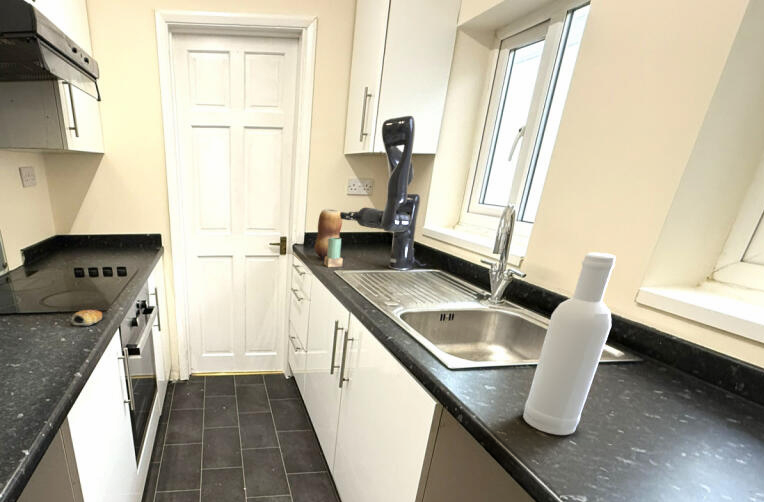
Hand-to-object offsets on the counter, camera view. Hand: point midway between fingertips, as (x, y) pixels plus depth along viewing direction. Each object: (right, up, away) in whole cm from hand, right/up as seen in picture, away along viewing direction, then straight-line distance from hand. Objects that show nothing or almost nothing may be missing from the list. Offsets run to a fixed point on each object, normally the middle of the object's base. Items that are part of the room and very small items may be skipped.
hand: (349, 214), depth 180 cm
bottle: (+11, -71, -107) cm, 129 cm away
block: (-4, -19, +19) cm, 27 cm away
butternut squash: (-4, -13, +34) cm, 37 cm away
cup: (-4, -15, +18) cm, 24 cm away
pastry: (-92, -50, -57) cm, 119 cm away
